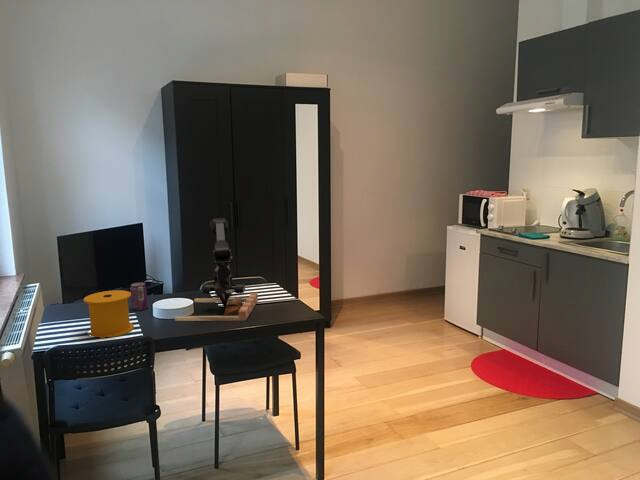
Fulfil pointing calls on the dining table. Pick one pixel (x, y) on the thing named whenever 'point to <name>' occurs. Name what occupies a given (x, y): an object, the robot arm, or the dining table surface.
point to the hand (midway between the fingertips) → (225, 307)
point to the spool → (109, 313)
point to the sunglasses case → (233, 306)
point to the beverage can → (138, 296)
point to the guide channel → (242, 316)
